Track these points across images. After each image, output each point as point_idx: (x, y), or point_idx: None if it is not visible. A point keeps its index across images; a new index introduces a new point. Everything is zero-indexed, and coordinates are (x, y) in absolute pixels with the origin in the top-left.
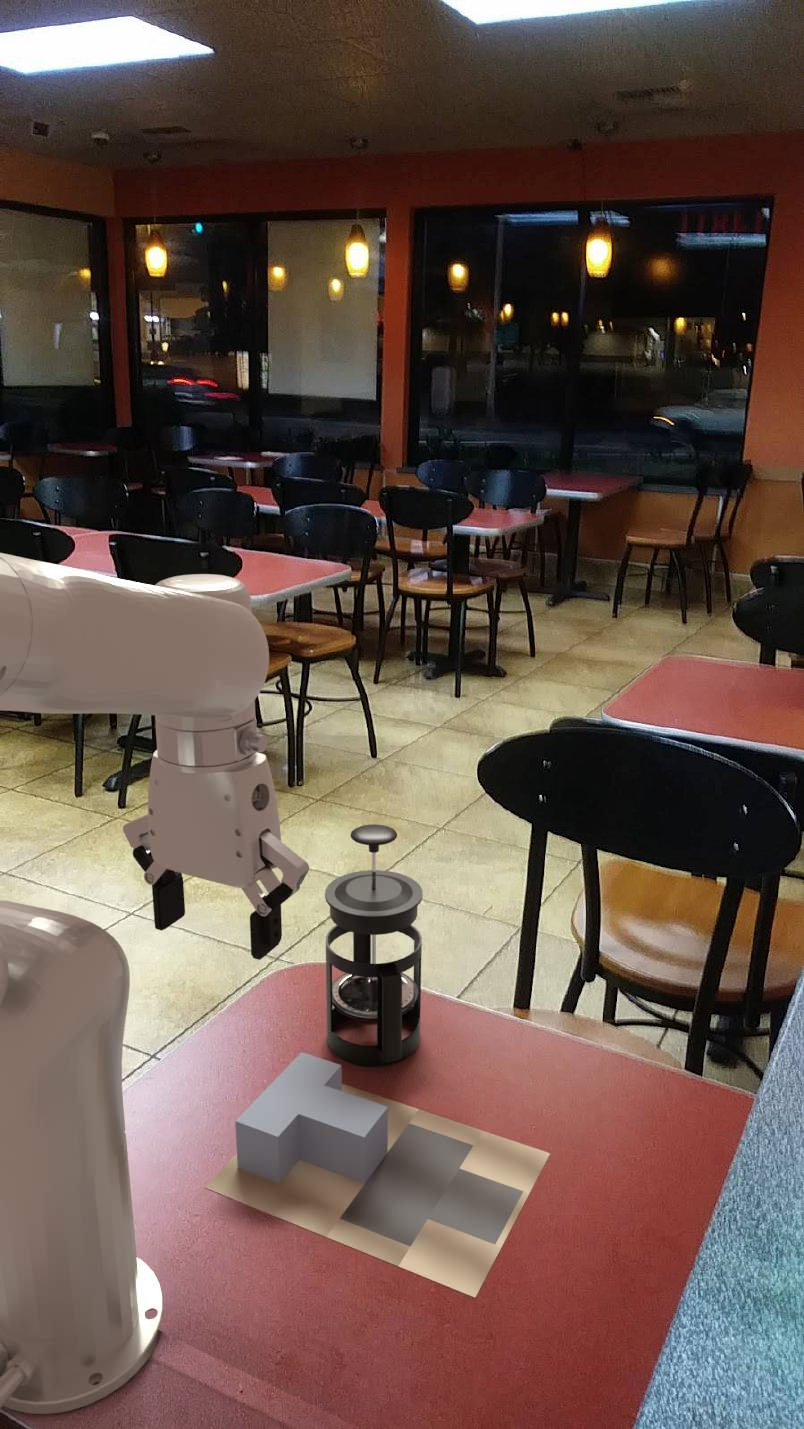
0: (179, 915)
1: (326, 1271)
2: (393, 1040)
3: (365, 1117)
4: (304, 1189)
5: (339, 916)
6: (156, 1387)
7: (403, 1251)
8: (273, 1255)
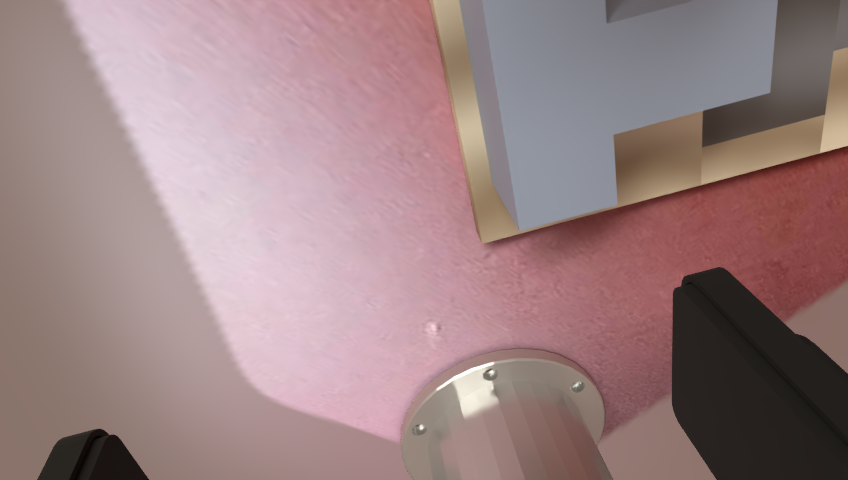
0: (126, 474)
1: (706, 199)
2: None
3: (747, 44)
4: (620, 143)
5: None
6: (622, 398)
7: (817, 128)
8: (627, 228)
